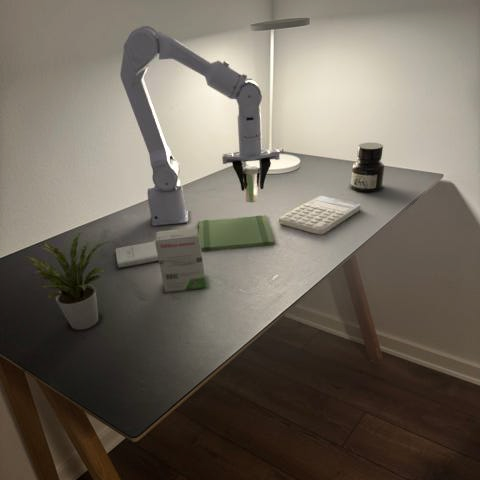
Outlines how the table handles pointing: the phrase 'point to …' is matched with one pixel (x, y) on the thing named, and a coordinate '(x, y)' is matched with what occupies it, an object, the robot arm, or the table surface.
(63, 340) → the table surface
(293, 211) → the calculator
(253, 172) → the milkshake
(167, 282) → the ink box
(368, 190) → the ink bottle
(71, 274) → the house plant
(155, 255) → the hard drive
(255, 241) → the towel
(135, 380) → the table surface
